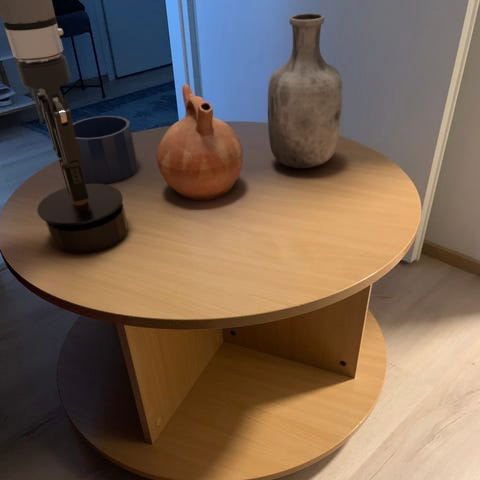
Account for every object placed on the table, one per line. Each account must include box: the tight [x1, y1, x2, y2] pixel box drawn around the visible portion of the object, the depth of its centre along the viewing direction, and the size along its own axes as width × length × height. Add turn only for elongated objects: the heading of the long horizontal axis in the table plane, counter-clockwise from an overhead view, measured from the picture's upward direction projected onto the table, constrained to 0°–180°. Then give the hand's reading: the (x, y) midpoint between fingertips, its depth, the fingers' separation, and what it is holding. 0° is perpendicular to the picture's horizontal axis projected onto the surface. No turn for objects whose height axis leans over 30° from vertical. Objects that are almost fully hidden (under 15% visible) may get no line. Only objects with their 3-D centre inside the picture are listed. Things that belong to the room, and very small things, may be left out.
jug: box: [156, 83, 244, 201], centre depth 105 cm, size 18×18×20 cm
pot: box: [72, 115, 139, 185], centre depth 118 cm, size 14×14×10 cm
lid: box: [36, 160, 124, 226], centre depth 92 cm, size 16×16×9 cm
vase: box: [267, 12, 343, 169], centre depth 109 cm, size 16×16×30 cm
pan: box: [45, 202, 129, 255], centre depth 97 cm, size 14×14×5 cm
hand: (78, 195), depth 93 cm, fingers closed on lid, 3 cm apart
